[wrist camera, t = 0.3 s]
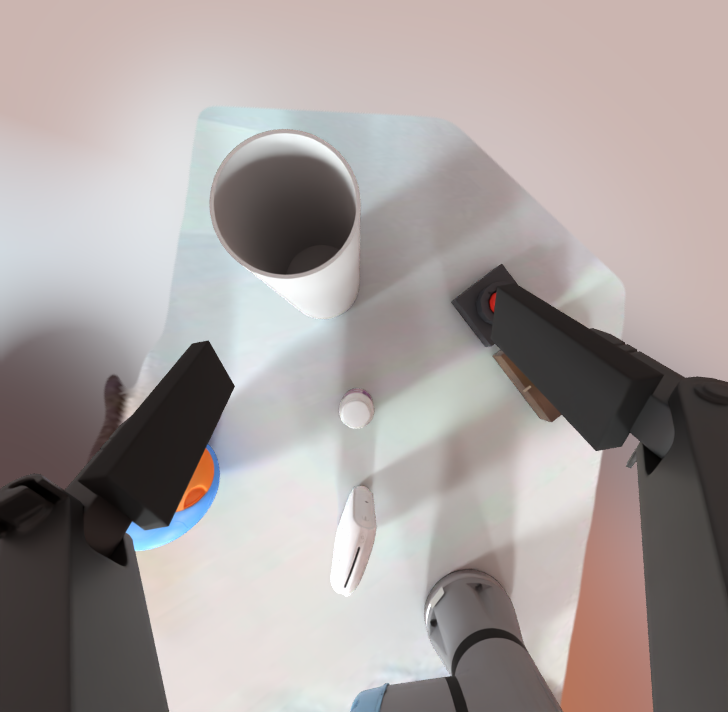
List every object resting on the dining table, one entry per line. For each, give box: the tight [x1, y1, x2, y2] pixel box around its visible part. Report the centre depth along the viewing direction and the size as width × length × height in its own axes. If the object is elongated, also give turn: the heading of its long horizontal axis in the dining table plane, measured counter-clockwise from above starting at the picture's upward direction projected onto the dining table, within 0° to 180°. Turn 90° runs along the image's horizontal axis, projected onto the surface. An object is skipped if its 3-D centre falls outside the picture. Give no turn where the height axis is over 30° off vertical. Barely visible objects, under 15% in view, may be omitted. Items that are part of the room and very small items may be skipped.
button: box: [489, 292, 496, 313], centre depth 44 cm, size 4×4×2 cm
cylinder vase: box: [210, 129, 361, 319], centre depth 35 cm, size 12×12×25 cm
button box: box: [452, 264, 518, 347], centre depth 46 cm, size 10×10×4 cm
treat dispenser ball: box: [126, 444, 220, 551], centre depth 39 cm, size 16×15×15 cm
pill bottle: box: [339, 388, 374, 429], centre depth 43 cm, size 5×5×10 cm
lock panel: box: [493, 350, 562, 422], centre depth 47 cm, size 14×11×3 cm
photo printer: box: [331, 486, 376, 596], centre depth 41 cm, size 10×4×12 cm, turn 160°
